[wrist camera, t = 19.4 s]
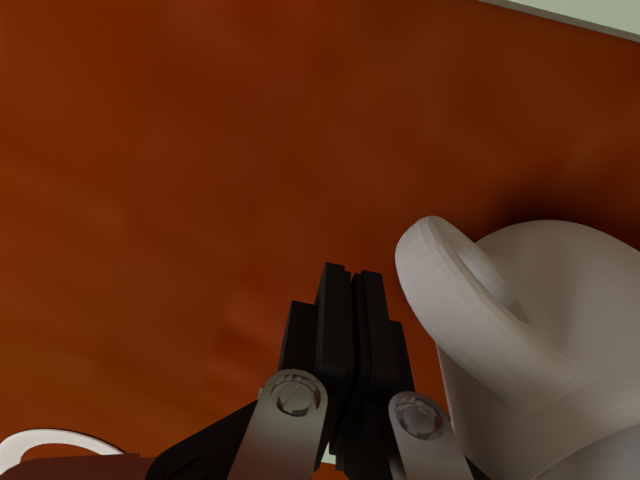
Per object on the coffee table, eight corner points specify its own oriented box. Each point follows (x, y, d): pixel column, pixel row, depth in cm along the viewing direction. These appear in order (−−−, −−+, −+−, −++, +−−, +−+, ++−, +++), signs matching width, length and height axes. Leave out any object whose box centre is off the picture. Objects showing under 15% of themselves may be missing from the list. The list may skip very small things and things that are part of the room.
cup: (304, 257, 15) (289, 485, 8) (482, 71, 12) (726, 166, 5) (498, 394, 18) (610, 638, 11) (675, 277, 15) (984, 512, 8)
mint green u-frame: (364, -107, 10) (372, -141, 8) (1053, 82, 11) (1232, 101, 9) (255, 408, 19) (244, 463, 17) (642, 476, 21) (679, 534, 18)
